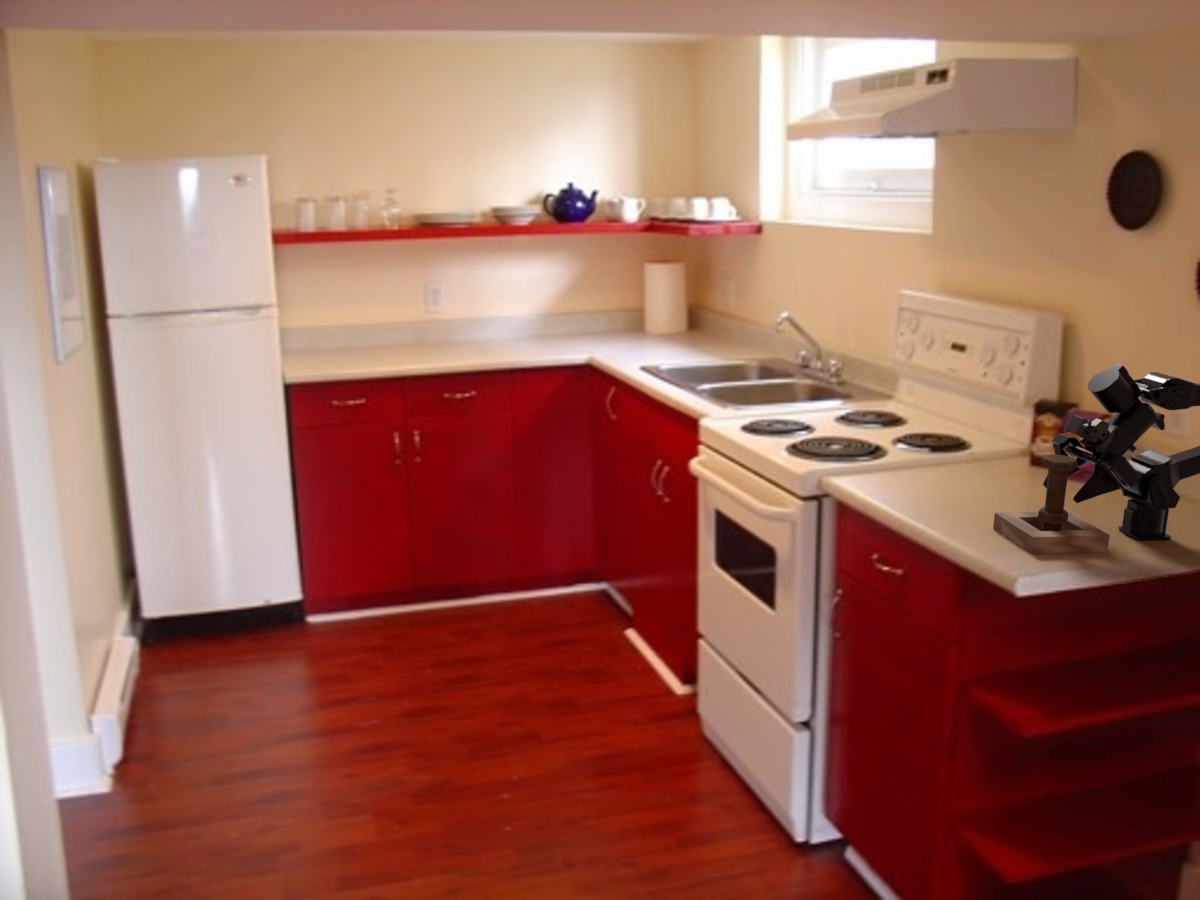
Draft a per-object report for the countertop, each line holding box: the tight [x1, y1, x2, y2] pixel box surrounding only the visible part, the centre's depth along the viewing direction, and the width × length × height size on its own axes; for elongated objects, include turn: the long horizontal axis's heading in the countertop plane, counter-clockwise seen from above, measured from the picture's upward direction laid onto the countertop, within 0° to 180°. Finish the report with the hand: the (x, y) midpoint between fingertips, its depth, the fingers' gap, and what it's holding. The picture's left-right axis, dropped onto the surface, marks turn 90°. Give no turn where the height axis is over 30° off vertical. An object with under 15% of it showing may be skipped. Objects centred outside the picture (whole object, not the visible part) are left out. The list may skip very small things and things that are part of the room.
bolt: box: [1037, 454, 1078, 531], centre depth 202 cm, size 6×5×15 cm
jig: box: [992, 510, 1111, 555], centre depth 204 cm, size 14×14×3 cm
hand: (1059, 493), depth 202 cm, fingers open, 9 cm apart
